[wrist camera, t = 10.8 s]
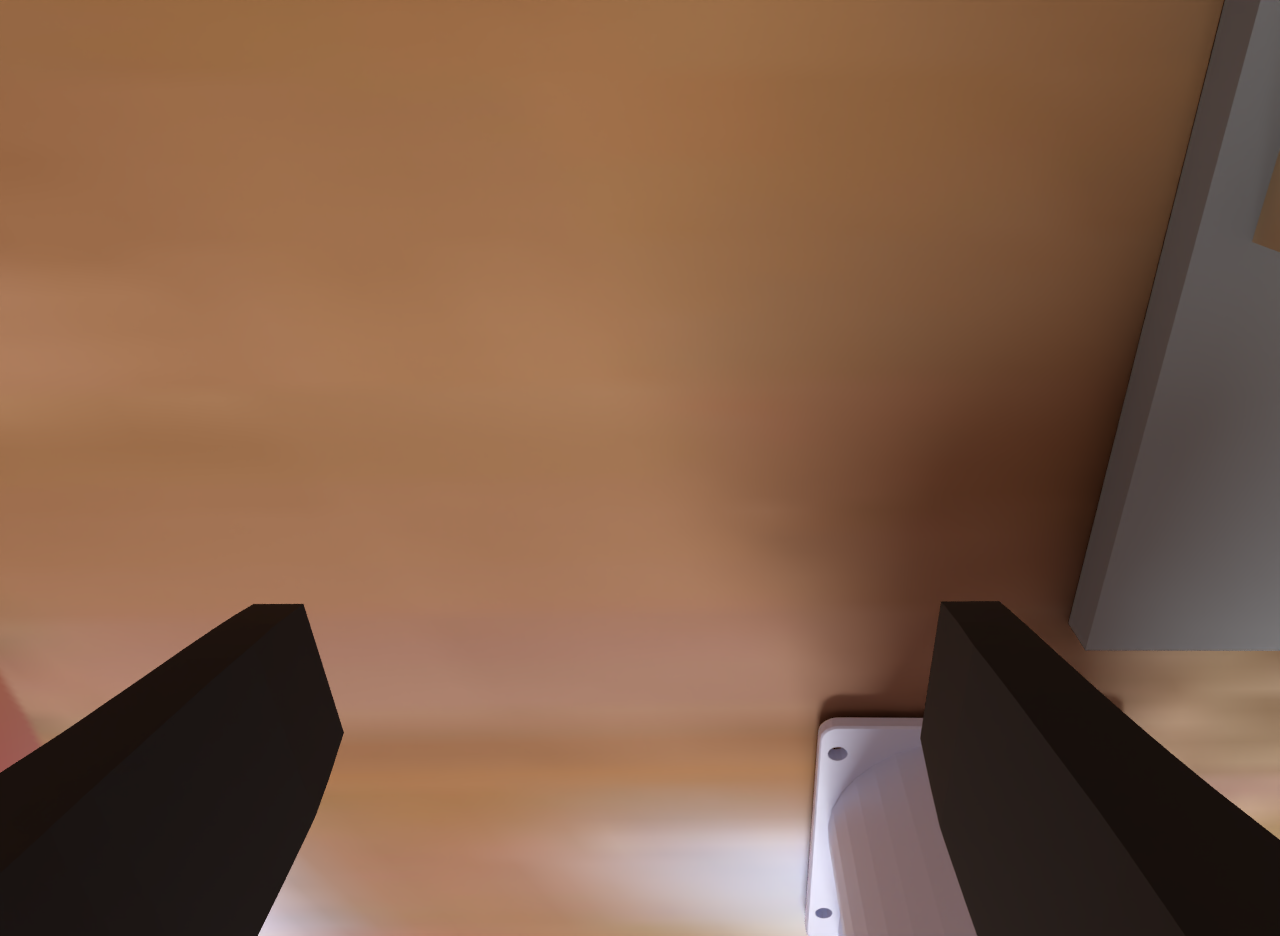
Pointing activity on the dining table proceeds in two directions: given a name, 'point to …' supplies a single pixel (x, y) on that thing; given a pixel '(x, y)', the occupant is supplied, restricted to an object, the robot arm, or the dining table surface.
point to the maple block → (1270, 214)
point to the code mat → (1202, 392)
